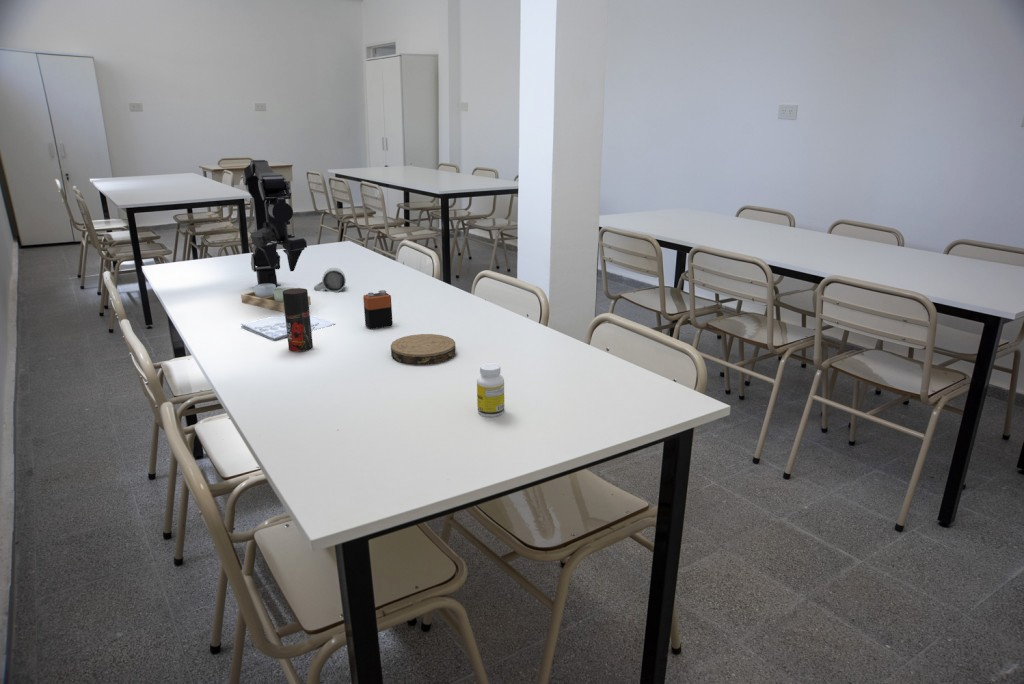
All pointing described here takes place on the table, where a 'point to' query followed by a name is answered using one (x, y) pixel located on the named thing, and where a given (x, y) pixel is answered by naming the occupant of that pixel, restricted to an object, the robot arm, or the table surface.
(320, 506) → the table surface
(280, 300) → the sage green cylinder
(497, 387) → the supplement bottle
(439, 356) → the wood slice coaster
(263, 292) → the pale blue rounded cylinder
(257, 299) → the divided wooden tray
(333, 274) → the ceramic mug
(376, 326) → the battery
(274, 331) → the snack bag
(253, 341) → the table surface
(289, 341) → the deodorant
